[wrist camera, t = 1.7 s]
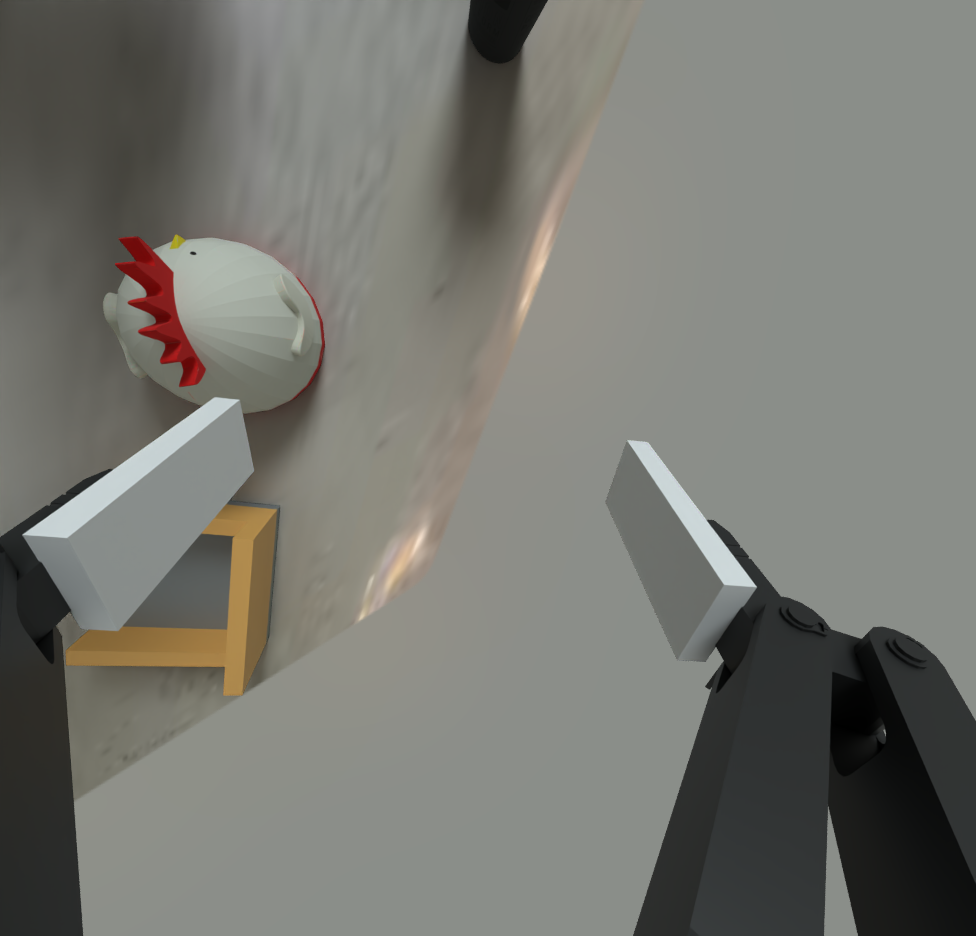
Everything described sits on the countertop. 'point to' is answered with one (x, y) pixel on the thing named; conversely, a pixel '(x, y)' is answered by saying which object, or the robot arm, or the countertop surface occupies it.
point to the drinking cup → (502, 26)
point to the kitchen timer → (216, 322)
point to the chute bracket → (202, 604)
